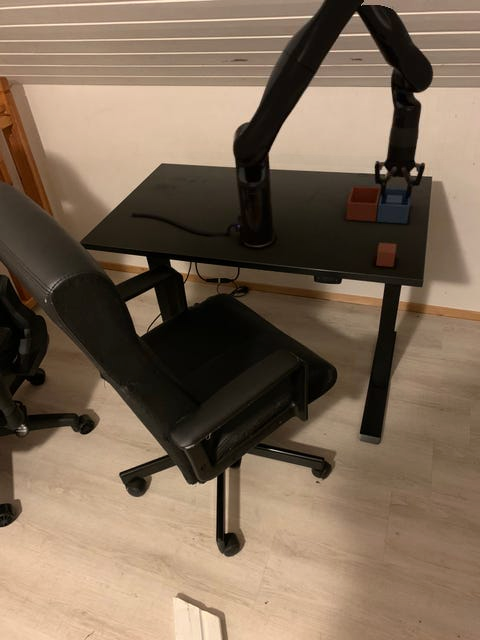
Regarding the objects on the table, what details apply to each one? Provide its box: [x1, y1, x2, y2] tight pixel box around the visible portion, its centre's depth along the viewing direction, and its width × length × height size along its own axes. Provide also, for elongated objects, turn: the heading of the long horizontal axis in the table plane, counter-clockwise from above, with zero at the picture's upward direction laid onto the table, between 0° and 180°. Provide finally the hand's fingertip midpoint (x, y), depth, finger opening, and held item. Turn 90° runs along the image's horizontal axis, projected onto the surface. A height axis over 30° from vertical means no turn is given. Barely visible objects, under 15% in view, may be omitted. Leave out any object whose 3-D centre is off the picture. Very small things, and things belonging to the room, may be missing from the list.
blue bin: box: [376, 187, 412, 225], centre depth 141 cm, size 9×11×6 cm
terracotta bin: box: [345, 185, 381, 222], centre depth 143 cm, size 9×11×6 cm
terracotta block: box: [375, 242, 397, 268], centre depth 123 cm, size 4×4×4 cm
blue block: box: [386, 195, 402, 205], centre depth 141 cm, size 4×4×4 cm
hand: (395, 196), depth 139 cm, fingers open, 6 cm apart
